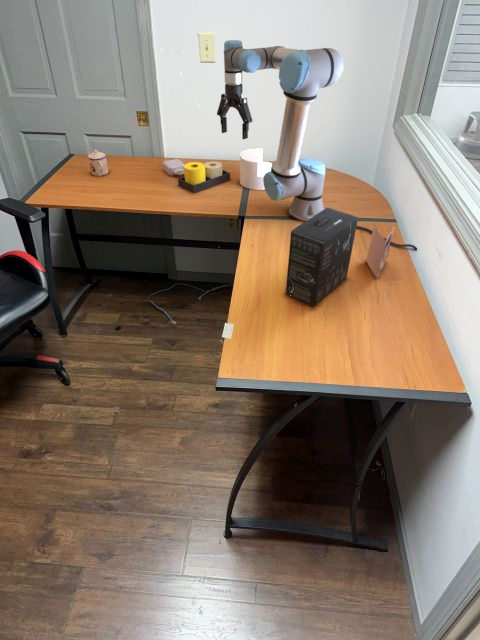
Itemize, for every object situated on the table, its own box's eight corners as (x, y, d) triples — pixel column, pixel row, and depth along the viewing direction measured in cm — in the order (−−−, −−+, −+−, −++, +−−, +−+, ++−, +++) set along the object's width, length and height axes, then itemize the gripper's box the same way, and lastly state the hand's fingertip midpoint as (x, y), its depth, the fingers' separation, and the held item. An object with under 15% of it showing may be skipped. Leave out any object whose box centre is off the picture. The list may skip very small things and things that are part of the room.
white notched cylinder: (277, 191, 210) (279, 163, 202) (236, 188, 213) (236, 161, 204) (281, 175, 225) (282, 149, 217) (243, 173, 228) (243, 147, 219)
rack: (230, 179, 221) (230, 172, 218) (193, 193, 208) (193, 186, 206) (214, 173, 227) (214, 166, 225) (178, 185, 215) (177, 178, 213)
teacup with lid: (89, 171, 229) (84, 149, 221) (106, 168, 232) (102, 146, 225) (95, 179, 221) (90, 156, 213) (112, 176, 224) (108, 153, 217)
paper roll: (226, 178, 220) (225, 164, 216) (212, 183, 216) (211, 169, 211) (214, 173, 226) (213, 160, 221) (200, 178, 221) (199, 164, 216)
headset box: (318, 266, 159) (328, 200, 143) (347, 278, 154) (361, 210, 137) (283, 295, 146) (289, 225, 129) (314, 309, 140) (324, 238, 124)
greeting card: (379, 279, 153) (388, 241, 144) (358, 273, 156) (366, 236, 146) (387, 263, 161) (396, 227, 151) (367, 258, 164) (375, 222, 154)
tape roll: (206, 180, 218) (205, 162, 212) (205, 188, 211) (204, 169, 205) (186, 180, 218) (184, 162, 212) (184, 189, 210) (183, 169, 204)
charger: (174, 180, 220) (163, 170, 230) (190, 177, 224) (179, 167, 234) (173, 171, 217) (162, 161, 227) (190, 167, 220) (178, 158, 230)
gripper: (261, 86, 180) (260, 139, 193) (220, 78, 194) (221, 128, 207) (248, 89, 176) (248, 143, 189) (207, 80, 190) (210, 131, 203)
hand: (234, 135), depth 198 cm, fingers open, 13 cm apart
